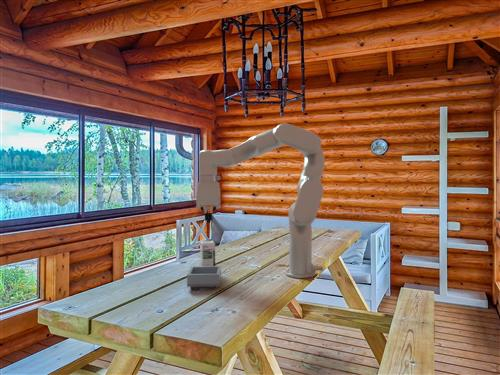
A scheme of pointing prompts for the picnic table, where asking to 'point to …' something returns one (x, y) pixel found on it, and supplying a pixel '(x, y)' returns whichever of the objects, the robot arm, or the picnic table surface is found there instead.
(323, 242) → the picnic table surface
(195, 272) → the grey square cubby
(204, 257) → the syrup box
